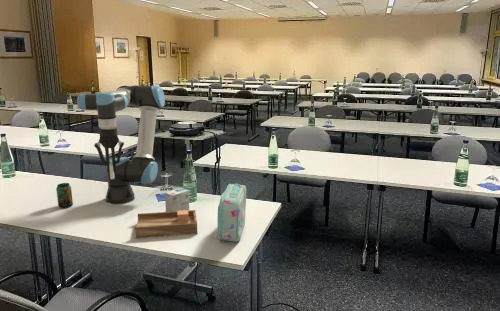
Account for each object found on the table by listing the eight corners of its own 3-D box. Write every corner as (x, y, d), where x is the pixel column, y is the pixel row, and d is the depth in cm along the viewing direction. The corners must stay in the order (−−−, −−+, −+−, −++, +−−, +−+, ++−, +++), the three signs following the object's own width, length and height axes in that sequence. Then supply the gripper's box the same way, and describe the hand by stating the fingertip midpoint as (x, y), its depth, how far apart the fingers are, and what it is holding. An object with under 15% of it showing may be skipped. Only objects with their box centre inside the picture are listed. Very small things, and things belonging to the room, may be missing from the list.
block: (177, 218, 190) (177, 210, 189) (188, 217, 191) (188, 210, 190) (177, 222, 185) (177, 214, 184) (188, 222, 186) (188, 214, 185)
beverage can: (67, 209, 207) (64, 187, 204) (55, 208, 208) (52, 186, 205) (75, 204, 213) (73, 183, 210) (64, 203, 215) (61, 182, 212)
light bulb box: (182, 206, 212) (181, 187, 209) (189, 209, 207) (189, 190, 204) (165, 211, 205) (164, 191, 202) (172, 215, 200) (171, 195, 197)
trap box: (138, 223, 190) (137, 213, 189) (195, 219, 195) (195, 210, 194) (135, 238, 175) (134, 227, 174) (197, 233, 180) (197, 223, 178)
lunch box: (226, 219, 195) (225, 178, 190) (246, 220, 194) (247, 178, 189) (215, 245, 170) (215, 197, 164) (239, 246, 169) (240, 198, 163)
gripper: (91, 129, 172) (96, 181, 178) (122, 128, 175) (126, 179, 181) (93, 126, 179) (98, 176, 185) (123, 125, 182) (127, 174, 188)
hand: (112, 178), depth 183 cm, fingers closed
